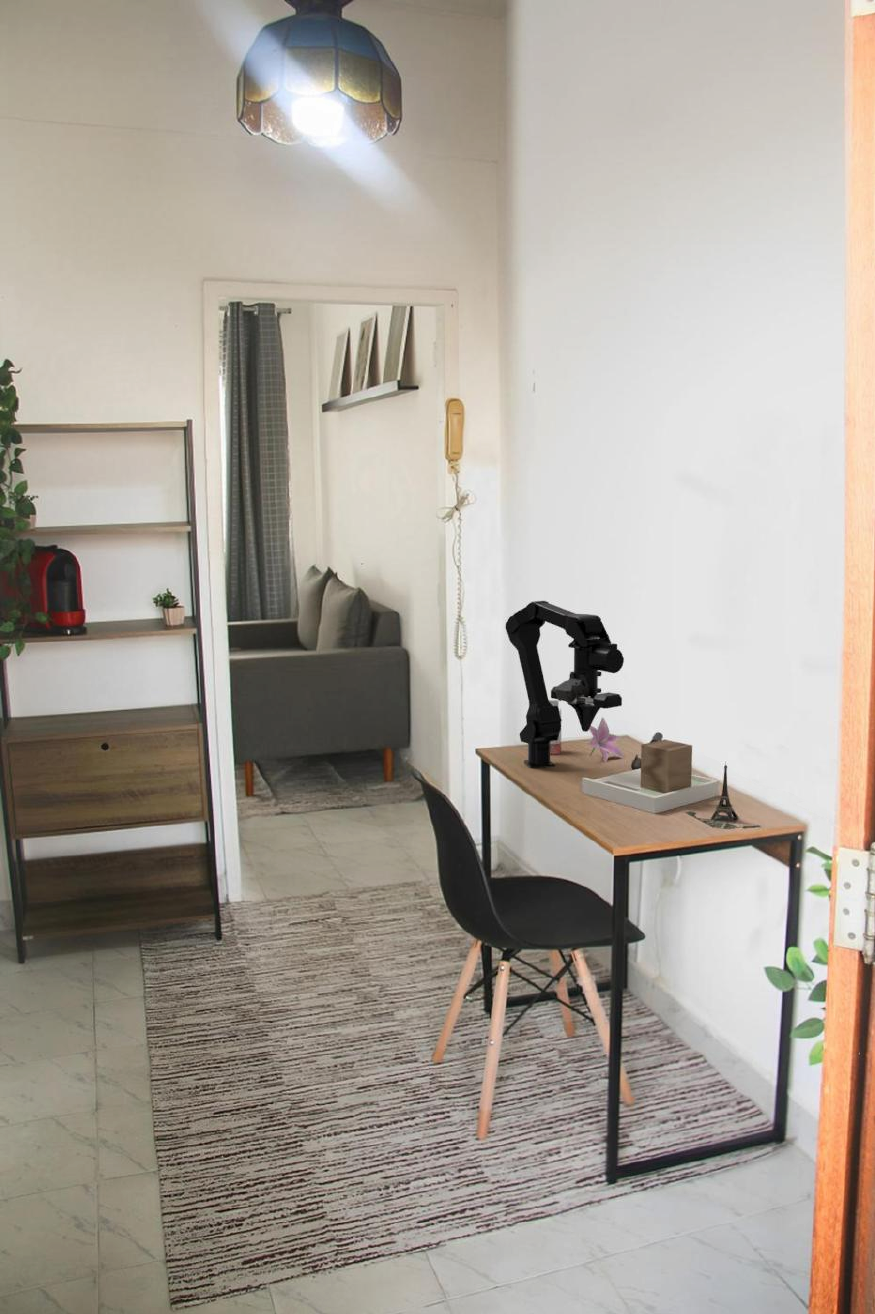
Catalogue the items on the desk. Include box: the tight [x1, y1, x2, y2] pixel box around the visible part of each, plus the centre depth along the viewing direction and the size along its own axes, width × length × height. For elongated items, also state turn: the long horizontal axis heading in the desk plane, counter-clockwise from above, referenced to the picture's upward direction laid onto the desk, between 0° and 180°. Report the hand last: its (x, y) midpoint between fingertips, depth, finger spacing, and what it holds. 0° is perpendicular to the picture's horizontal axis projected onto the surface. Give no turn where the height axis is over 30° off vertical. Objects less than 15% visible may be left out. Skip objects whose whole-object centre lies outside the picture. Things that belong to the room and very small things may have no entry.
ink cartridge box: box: [548, 699, 562, 755], centre depth 297 cm, size 9×5×15 cm, turn 76°
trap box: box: [581, 767, 720, 815], centre depth 255 cm, size 22×22×4 cm
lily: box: [587, 717, 624, 763], centre depth 290 cm, size 12×12×10 cm
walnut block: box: [640, 739, 693, 794], centre depth 250 cm, size 8×8×10 cm
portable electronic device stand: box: [630, 731, 663, 771], centre depth 279 cm, size 9×8×8 cm
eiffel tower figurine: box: [684, 762, 760, 830], centre depth 235 cm, size 15×10×13 cm
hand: (585, 731), depth 267 cm, fingers closed
